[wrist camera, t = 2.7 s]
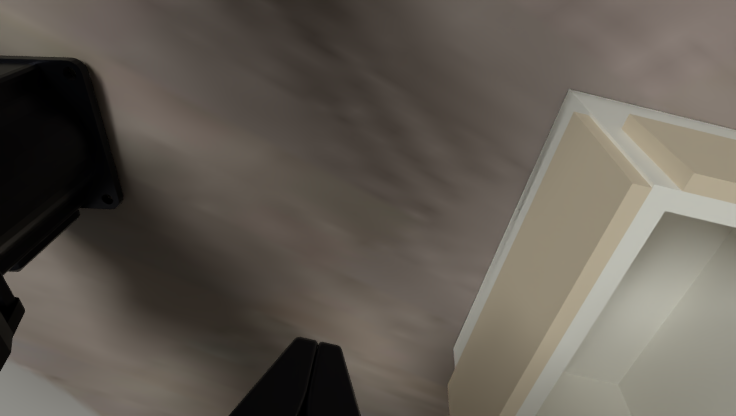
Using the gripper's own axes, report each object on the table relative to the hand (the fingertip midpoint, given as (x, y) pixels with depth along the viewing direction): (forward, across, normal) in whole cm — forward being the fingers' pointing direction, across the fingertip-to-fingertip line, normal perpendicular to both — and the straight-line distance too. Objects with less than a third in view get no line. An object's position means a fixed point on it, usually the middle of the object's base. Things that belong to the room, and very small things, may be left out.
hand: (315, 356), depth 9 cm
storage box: (+12, -12, +4) cm, 17 cm away
